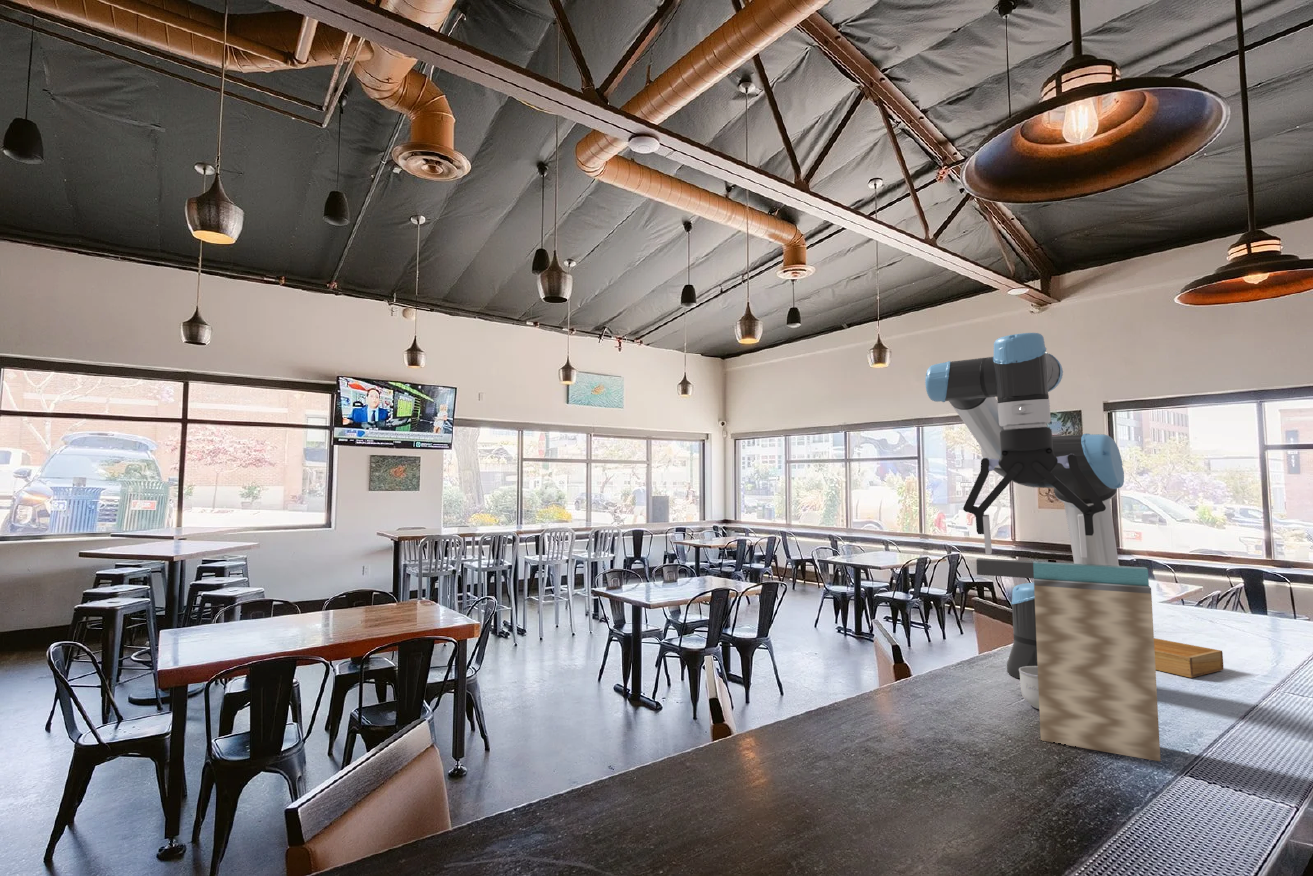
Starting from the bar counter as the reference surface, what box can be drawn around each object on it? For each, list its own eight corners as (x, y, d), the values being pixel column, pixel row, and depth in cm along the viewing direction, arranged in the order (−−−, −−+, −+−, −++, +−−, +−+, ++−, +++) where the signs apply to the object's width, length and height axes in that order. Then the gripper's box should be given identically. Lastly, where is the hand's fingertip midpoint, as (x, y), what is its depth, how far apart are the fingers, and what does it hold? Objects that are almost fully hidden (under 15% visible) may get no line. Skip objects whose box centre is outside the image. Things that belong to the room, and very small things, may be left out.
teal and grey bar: (977, 574, 130) (976, 559, 130) (978, 572, 133) (977, 558, 133) (1148, 586, 116) (1147, 569, 116) (1146, 583, 118) (1145, 567, 118)
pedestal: (1040, 740, 121) (1033, 580, 123) (1040, 726, 128) (1034, 574, 130) (1160, 761, 111) (1151, 588, 114) (1153, 745, 118) (1144, 581, 120)
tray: (1067, 651, 185) (1066, 631, 186) (1099, 645, 192) (1098, 626, 192) (1191, 681, 158) (1189, 657, 158) (1224, 673, 164) (1222, 650, 164)
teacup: (1021, 712, 136) (1019, 673, 136) (1019, 696, 145) (1017, 660, 146) (1099, 723, 129) (1098, 683, 130) (1092, 706, 139) (1090, 669, 139)
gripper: (940, 432, 110) (949, 556, 109) (1118, 420, 96) (1130, 561, 96) (946, 432, 116) (955, 549, 115) (1114, 421, 103) (1125, 553, 102)
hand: (1034, 555), depth 106 cm, fingers open, 13 cm apart
